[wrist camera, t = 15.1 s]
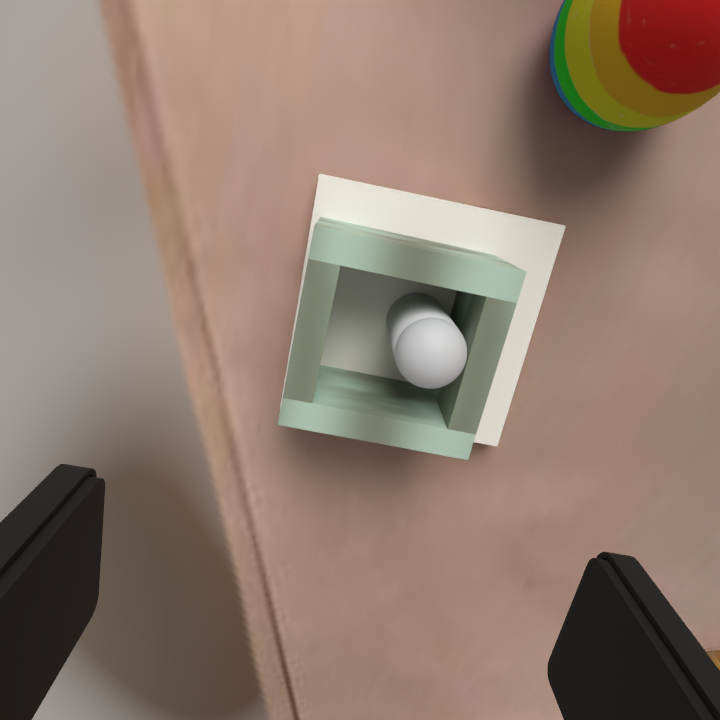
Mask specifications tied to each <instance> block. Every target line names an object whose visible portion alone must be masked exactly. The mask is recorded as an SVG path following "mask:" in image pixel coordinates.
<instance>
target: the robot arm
mask: <svg viewBox="0 0 720 720" xmlns="http://www.w3.org/2000/svg"><path fill="white" fill-rule="evenodd" d="M104 495H105V481H104V479H102V478H97V477H96V471H95V470H94V469H91V468H85V467H79V466H73V465H67V464H60V465H59V466H57V467H56V468H55V469H54V470H53V471H52V472H51V473H50V474H49V475H48V476H47V477H46V478H45V479H44V480H43V481H42V482H41V483H40V484H39V485H38V486H37V487H36V488H35V489H34V490H33V491H32V492H31V493H30V494H29V495H28V496H27V497H26V498H25V499H24V500H23V501H22V502H21V503H20V504H19V505H18V506H17V507H16V508H15V509H14V510H13V511H12V512H11V513H10V514H9V515H8V516H7V517H5V518H4V520H2V522H0V720H32V718H33V716H34V715H35V713H36V711H37V709H38V708H39V706H40V704H41V702H42V701H43V699H44V698H45V696H46V694H47V692H48V690H49V689H50V687H51V686H52V684H53V682H54V680H55V679H56V677H57V675H58V673H59V672H60V670H61V668H62V667H63V665H64V663H65V662H66V660H67V658H68V657H69V655H70V653H71V651H72V650H73V648H74V646H75V645H76V643H77V641H78V640H79V638H80V636H81V634H82V633H83V631H84V629H85V627H86V626H87V624H88V623H89V621H90V619H91V617H92V615H93V613H94V611H95V608H96V605H97V601H98V595H99V577H100V561H101V546H102V529H103V512H104ZM548 679H549V682H550V685H551V688H552V690H553V693H554V695H555V698H556V700H557V703H558V706H559V708H560V711H561V713H562V716H563V718H564V720H720V670H719V669H718V668H717V666H716V665H715V664H714V662H713V661H712V660H711V658H710V657H709V656H708V654H707V653H706V652H705V650H704V649H703V648H702V646H701V645H700V643H699V642H698V641H697V639H696V638H695V637H694V635H693V634H692V633H691V631H690V630H689V629H688V627H687V626H686V625H685V623H684V622H683V621H682V619H681V618H680V617H679V615H678V614H677V613H676V611H675V610H674V609H673V607H672V606H671V605H670V603H669V602H668V601H667V599H666V598H665V597H664V595H663V594H662V593H661V591H660V590H659V589H658V587H657V586H656V585H655V583H654V582H653V581H652V579H651V578H650V577H649V575H648V574H647V573H646V571H645V570H644V569H643V567H642V566H641V565H640V563H639V562H638V561H637V560H636V559H635V558H634V557H631V556H627V555H621V554H615V553H608V552H602V553H600V554H599V555H598V556H597V558H592V559H591V560H589V562H588V564H587V566H586V569H585V571H584V574H583V576H582V579H581V581H580V584H579V586H578V589H577V591H576V594H575V596H574V599H573V601H572V604H571V606H570V609H569V611H568V614H567V616H566V619H565V621H564V624H563V626H562V629H561V631H560V634H559V636H558V639H557V641H556V644H555V646H554V649H553V651H552V654H551V656H550V659H549V662H548Z"/></svg>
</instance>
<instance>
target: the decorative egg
mask: <svg viewBox="0 0 720 720" xmlns="http://www.w3.org/2000/svg"><path fill="white" fill-rule="evenodd" d="M549 57H550V70H551V75H552V79H553V82H554V85H555V87H556V90H557V92H558V94H559V96H560V97H561V99H562V100H563V102H564V103H565V104H566V106H567V107H568V108H569V109H570V110H571V111H572V112H573V113H574V114H575V115H577V116H578V117H579V118H581V119H582V120H584V121H586V122H588V123H589V124H592V125H594V126H597V127H600V128H603V129H607V130H614V131H638V130H646V129H651V128H654V127H658V126H661V125H664V124H667V123H670V122H672V121H675V120H677V119H679V118H681V117H683V116H685V115H687V114H689V113H690V112H692V111H694V110H696V109H697V108H699V107H700V106H702V105H703V104H705V103H706V102H707V101H709V100H710V99H711V98H713V97H714V96H715V95H717V94H718V93H719V92H720V0H564V2H563V4H562V5H561V8H560V10H559V13H558V15H557V18H556V21H555V24H554V27H553V31H552V36H551V41H550V53H549Z"/></svg>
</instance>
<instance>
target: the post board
mask: <svg viewBox="0 0 720 720" xmlns="http://www.w3.org/2000/svg"><path fill="white" fill-rule="evenodd" d="M320 217H325V218H329V219H334V220H339V221H343V222H348V223H352V224H357V225H361V226H366V227H370V228H375V229H379V230H384V231H388V232H393V233H398V234H402V235H407V236H411V237H416V238H420V239H425V240H429V241H434V242H438V243H443V244H447V245H452V246H457V247H461V248H466V249H470V250H475V251H479V252H484V253H488V254H493V255H495V256H497V257H499V258H501V259H503V260H505V261H507V262H509V263H510V264H512V265H514V266H516V267H518V268H520V269H522V270H524V271H526V272H527V273H526V276H525V279H524V282H523V285H522V289H521V292H520V295H519V298H518V301H517V305H516V308H515V311H514V314H513V318H512V321H511V324H510V327H509V330H508V334H507V337H506V340H505V343H504V346H503V350H502V353H501V356H500V359H499V362H498V366H497V369H496V372H495V375H494V378H493V382H492V385H491V388H490V391H489V394H488V398H487V401H486V404H485V407H484V411H483V414H482V417H481V420H480V423H479V427H478V430H477V433H476V436H475V439H474V442H476V443H481V444H487V445H493V446H497V445H498V442H499V439H500V436H501V433H502V429H503V426H504V423H505V420H506V417H507V413H508V410H509V407H510V404H511V400H512V397H513V394H514V391H515V388H516V384H517V381H518V378H519V375H520V371H521V368H522V365H523V362H524V359H525V355H526V352H527V349H528V346H529V343H530V339H531V336H532V333H533V330H534V326H535V323H536V320H537V317H538V314H539V310H540V307H541V304H542V301H543V297H544V294H545V291H546V288H547V285H548V281H549V278H550V275H551V272H552V269H553V265H554V262H555V259H556V256H557V252H558V249H559V246H560V243H561V240H562V236H563V233H564V230H565V227H566V226H565V225H560V224H556V223H551V222H546V221H541V220H537V219H532V218H527V217H522V216H518V215H513V214H508V213H503V212H499V211H494V210H489V209H484V208H480V207H475V206H470V205H466V204H461V203H456V202H451V201H447V200H442V199H437V198H432V197H428V196H423V195H418V194H413V193H409V192H404V191H399V190H394V189H390V188H385V187H380V186H376V185H371V184H366V183H361V182H357V181H352V180H347V179H342V178H338V177H333V176H328V175H323V174H319V179H318V184H317V190H316V196H315V202H314V208H313V214H312V220H311V226H310V232H309V238H308V244H307V250H306V256H305V262H304V268H303V274H302V280H301V286H300V292H299V298H298V304H297V310H296V316H295V322H294V328H293V333H292V339H291V345H290V351H289V357H288V363H287V369H286V375H285V381H284V387H285V382H286V376H287V371H288V365H289V360H290V355H291V349H292V344H293V338H294V333H295V328H296V322H297V317H298V311H299V306H300V300H301V295H302V290H303V284H304V279H305V273H306V268H307V263H308V257H309V252H310V246H311V241H312V236H313V230H314V225H315V224H316V223H317V221H318V220H319V218H320ZM456 293H457V290H453V289H448V288H444V287H439V286H434V285H430V284H425V283H420V282H416V281H411V280H406V279H402V278H397V277H392V276H387V275H383V274H378V273H373V272H369V271H364V270H359V269H355V268H350V267H345V266H341V265H340V270H339V275H338V280H337V285H336V290H335V295H334V300H333V305H332V309H331V314H330V319H329V324H328V329H327V334H326V339H325V344H324V349H323V354H322V358H321V363H320V365H324V366H330V367H335V368H340V369H345V370H350V371H355V372H360V373H365V374H370V375H375V376H380V377H386V378H391V379H396V380H401V381H406V382H410V383H412V384H414V385H416V386H418V387H422V388H428V389H434V388H440V387H443V386H446V385H448V384H449V383H451V382H452V381H454V380H455V379H456V378H457V377H458V376H459V375H460V373H461V372H462V370H463V368H464V366H465V363H466V359H467V346H466V342H465V339H464V337H463V335H462V333H461V332H460V330H459V329H458V328H457V326H456V325H455V323H454V322H453V321H452V319H451V318H450V315H451V311H452V307H453V304H454V300H455V296H456ZM284 387H283V392H284ZM282 398H283V393H282ZM281 403H282V399H281ZM280 408H281V405H280Z"/></svg>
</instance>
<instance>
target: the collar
mask: <svg viewBox="0 0 720 720" xmlns="http://www.w3.org/2000/svg"><path fill="white" fill-rule="evenodd" d="M340 265H341V266H345V267H350V268H355V269H359V270H364V271H369V272H373V273H378V274H383V275H387V276H392V277H397V278H402V279H406V280H411V281H416V282H420V283H425V284H430V285H434V286H439V287H444V288H448V289H453V290H457V293H456V296H455V300H454V304H453V307H452V311H451V315H450V318H451V319H452V321H453V322H454V323H455V325H456V326H457V328H458V329H459V330H460V332H461V333H462V335H463V337H464V339H465V342H466V346H467V359H466V363H465V366H464V368H463V370H462V372H461V373H460V375H459V376H458V377H457V378H456V379H455V380H454V381H452V382H451V383H449V384H448V385H446V386H443V387H440V388H434V389H428V388H422V387H418V386H416V385H414V384H412V383H410V382H406V381H401V380H396V379H391V378H386V377H380V376H375V375H370V374H365V373H360V372H355V371H350V370H345V369H340V368H335V367H330V366H324V365H320V363H321V358H322V354H323V349H324V344H325V339H326V334H327V329H328V324H329V319H330V314H331V309H332V305H333V300H334V295H335V290H336V285H337V280H338V275H339V270H340ZM526 273H527V272H526V271H524V270H522V269H520V268H518V267H516V266H514V265H512V264H510V263H509V262H507V261H505V260H503V259H501V258H499V257H497V256H495V255H493V254H488V253H484V252H479V251H475V250H470V249H466V248H461V247H457V246H452V245H447V244H443V243H438V242H434V241H429V240H425V239H420V238H416V237H411V236H407V235H402V234H398V233H393V232H388V231H384V230H379V229H375V228H370V227H366V226H361V225H357V224H352V223H348V222H343V221H339V220H334V219H329V218H325V217H320V218H319V220H318V221H317V223H316V224H315V225H314V230H313V236H312V241H311V246H310V252H309V257H308V263H307V268H306V273H305V279H304V284H303V290H302V295H301V300H300V306H299V311H298V317H297V322H296V328H295V333H294V338H293V344H292V349H291V355H290V360H289V365H288V371H287V376H286V382H285V387H284V392H283V398H282V403H281V409H280V414H279V419H278V425H281V426H287V427H292V428H297V429H303V430H308V431H314V432H319V433H324V434H330V435H335V436H341V437H346V438H351V439H357V440H362V441H368V442H373V443H378V444H384V445H389V446H394V447H400V448H405V449H411V450H416V451H421V452H427V453H432V454H438V455H443V456H448V457H454V458H459V459H465V460H468V459H469V455H470V452H471V449H472V446H473V443H474V439H475V436H476V433H477V430H478V427H479V423H480V420H481V417H482V414H483V411H484V407H485V404H486V401H487V398H488V394H489V391H490V388H491V385H492V382H493V378H494V375H495V372H496V369H497V366H498V362H499V359H500V356H501V353H502V350H503V346H504V343H505V340H506V337H507V334H508V330H509V327H510V324H511V321H512V318H513V314H514V311H515V308H516V305H517V301H518V298H519V295H520V292H521V289H522V285H523V282H524V279H525V276H526Z"/></svg>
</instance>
